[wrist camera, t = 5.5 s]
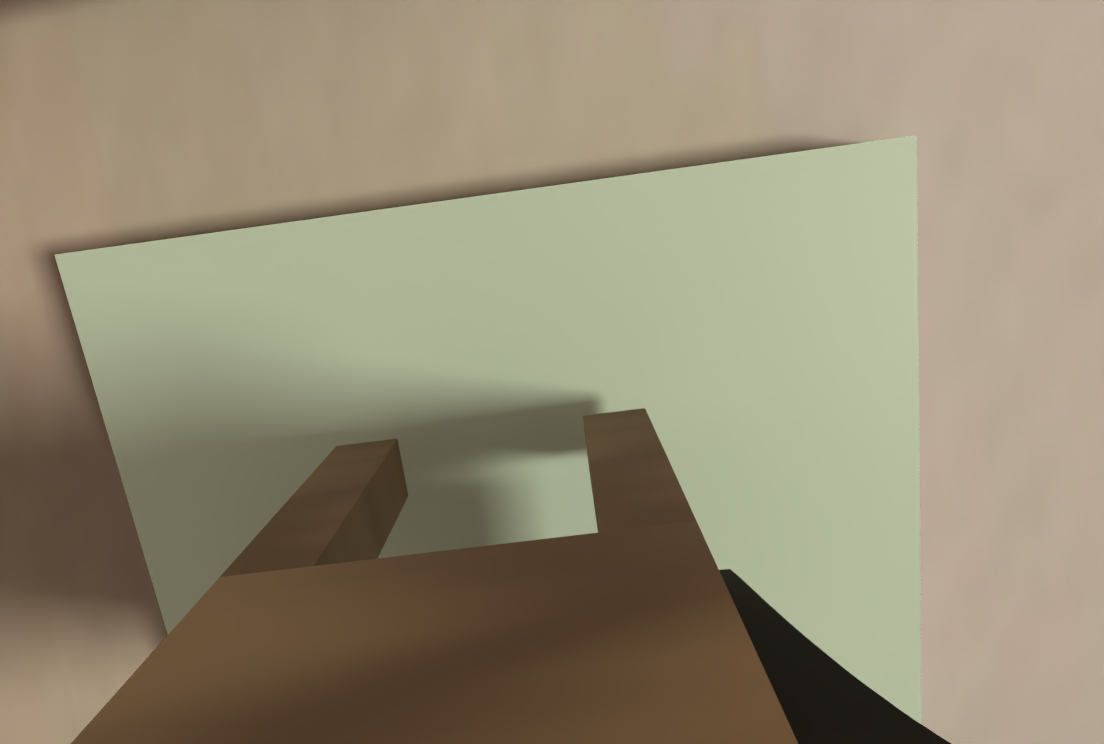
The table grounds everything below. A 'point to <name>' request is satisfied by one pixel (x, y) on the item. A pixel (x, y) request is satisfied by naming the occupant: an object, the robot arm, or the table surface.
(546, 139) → the table surface
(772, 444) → the sage green board
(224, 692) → the walnut stool
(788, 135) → the table surface
